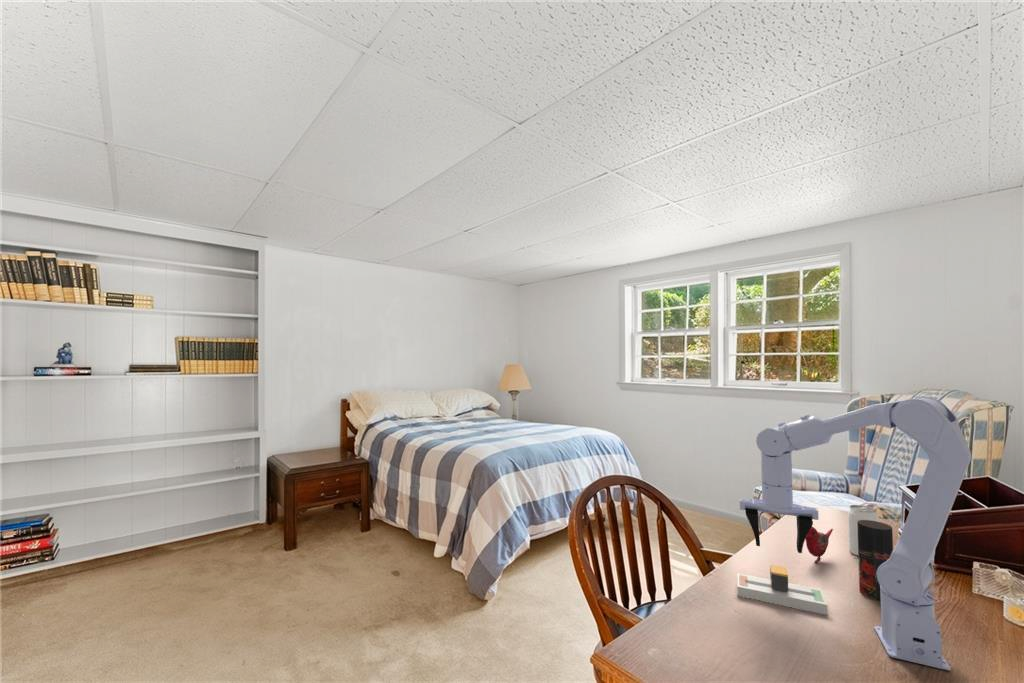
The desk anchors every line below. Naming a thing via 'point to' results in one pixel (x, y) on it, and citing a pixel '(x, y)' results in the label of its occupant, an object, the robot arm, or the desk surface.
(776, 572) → the handle
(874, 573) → the deodorant
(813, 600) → the box
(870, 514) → the can
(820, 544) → the decorative bird figurine
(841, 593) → the desk surface
